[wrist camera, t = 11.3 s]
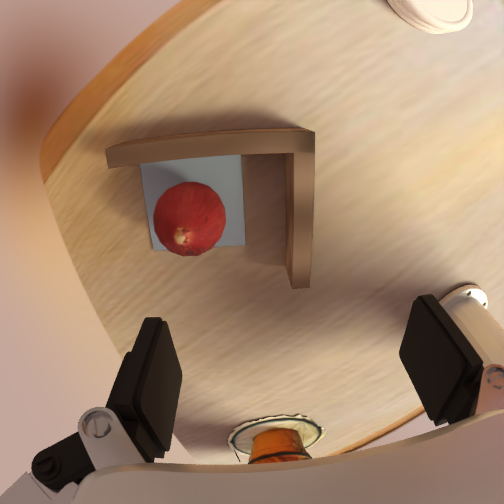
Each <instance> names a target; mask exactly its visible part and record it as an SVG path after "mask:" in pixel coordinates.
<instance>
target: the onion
mask: <svg viewBox="0 0 504 504" xmlns="http://www.w3.org/2000/svg"><path fill="white" fill-rule="evenodd" d="M153 223H154V231H155V233H156V235H157V237H158V239H159V241H160V243H161V244H162V245H163V246H165V247H166V248H167V249H168V250H169V251H170V252H173V253H176V254H178V255H181V256H198V255H200V254H202V253H204V252H206V251H208V250H210V249H211V248H213V246H214V245H215V244H216V243H217V242H218V241H219V239H220V238H221V237H222V234H223V231H224V228H225V225H226V213H225V207H224V205H223V203H222V201H221V199H220V197H219V195H218V194H217V193H216V192H215V191H214V190H213V189H212V188H211V187H210V186H208V185H205V184H202V183H199V182H182V183H180V184H177V185H175V186H173V187H171V188H169V189H167V190H166V191H165V192H164V193H163V194H162V195H161V197H160V198H159V199H158V201H157V203H156V206H155V210H154V213H153Z"/></svg>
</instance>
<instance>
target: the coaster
mask: <svg viewBox="0 0 504 504" xmlns="http://www.w3.org/2000/svg"><path fill="white" fill-rule="evenodd" d="M387 1H388V3H389V4H390V6H391V7H392V8H393V9H394V11H395V12H396V13H397V14H398V15H399V16H400V17H401V18H402V19H404V20H405V21H406V22H408V23H409V24H410V25H412V26H414V27H415V28H417V29H419V30H422V31H425V32H428V33H433V34H442V33H447V32H452V31H458V30H461V29H462V28H464V27H465V26H466V25H467V24H468V23H469V22H470V20H471V17H472V12H473V6H472V0H387Z"/></svg>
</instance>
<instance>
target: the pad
mask: <svg viewBox="0 0 504 504" xmlns="http://www.w3.org/2000/svg"><path fill="white" fill-rule="evenodd" d="M140 170H141V178H142V185H143V191H144V198H145V204H146V210H147V216H148V222H149V228H150V233H151V239H152V244H153V249H154V251H161V250H168V249H167V248H166V247H165V246H163V245H162V244H161V243H160V241H159V239H158V237H157V235H156V233H155V231H154V223H153V213H154V210H155V206H156V203H157V201H158V199H159V198H160V197H161V195H162V194H163V193H164V192H165V191H166V190H167V189H169V188H171V187H173V186H175V185H177V184H180V183H182V182H199V183H202V184H205V185H208V186H210V187H211V188H212V189H213V190H214V191H215V192H216V193H217V194H218V195H219V197H220V199H221V201H222V203H223V205H224V207H225V213H226V225H225V228H224V231H223V234H222V237H221V238H220V239H219V241H218V242H217V243H216V244H215V245H214V246H213V247H226V246H242V245H246V242H245V224H244V205H243V186H242V166H241V155H227V156H213V157H201V158H189V159H179V160H170V161H161V162H153V163H145V164H140Z"/></svg>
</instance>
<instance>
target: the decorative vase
mask: <svg viewBox="0 0 504 504" xmlns="http://www.w3.org/2000/svg"><path fill="white" fill-rule="evenodd" d="M301 416H302V415H298V416H296V417H288V416H285V415H283V416H278V417H268V418H265V419H259V421H252V422H251V423H250V422H247V423H244V424H242V426H238V427H236V428H235V429H234V430H235V432H232V433H231V434H230V436H229V438H228V439H227V440H229V441H227V442H228V443H229V444H228V445H229V446H230V448H231V449H232V450H233V451H237V452H238V453H239V454H241V455H246V456H250V457H249V463H248V464H264V463H278V462H289V461H298V460H306V459H312V457H311V456H310V455H309V454H308V453H307V452H306V449H307V448H309V447H312V446H314V444H315V443H317V442H319V441H320V440H319V439H321V438H323V437H324V436H325V433H326V432H327V431H324V428H323V427H322V428H318V427H317V424H316V423H315V422H313V421H312V420H310V419H309V418H307V417H301ZM235 453H236V452H235ZM236 456H237V454H236ZM237 457H238V456H237ZM238 459H239V457H238ZM239 461H240V460H239Z"/></svg>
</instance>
